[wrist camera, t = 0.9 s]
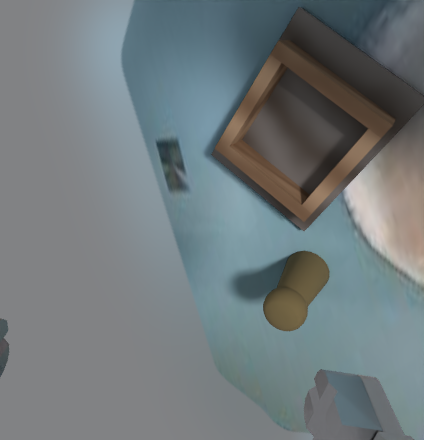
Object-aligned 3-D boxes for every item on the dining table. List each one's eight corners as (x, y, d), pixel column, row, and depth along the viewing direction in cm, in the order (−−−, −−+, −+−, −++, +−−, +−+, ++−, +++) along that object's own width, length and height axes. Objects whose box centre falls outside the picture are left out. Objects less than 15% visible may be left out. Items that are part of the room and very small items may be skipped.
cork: (277, 265, 54) (246, 309, 45) (307, 242, 50) (279, 286, 42) (307, 296, 54) (281, 346, 45) (339, 276, 50) (317, 327, 41)
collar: (301, 7, 40) (287, 4, 36) (427, 98, 37) (426, 105, 34) (214, 152, 52) (197, 161, 48) (306, 228, 49) (295, 243, 46)
